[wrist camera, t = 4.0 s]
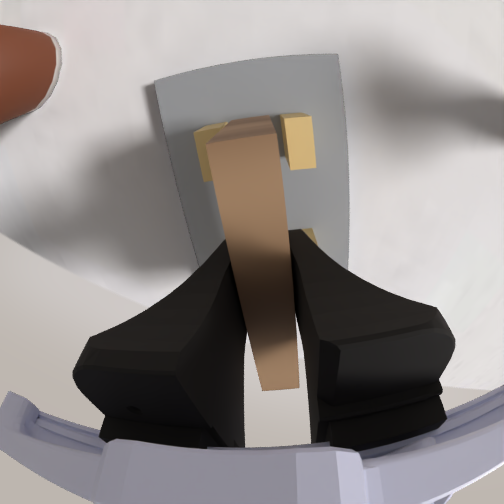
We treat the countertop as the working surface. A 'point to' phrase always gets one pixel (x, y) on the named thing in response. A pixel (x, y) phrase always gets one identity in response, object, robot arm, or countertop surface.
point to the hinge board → (288, 135)
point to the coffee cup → (26, 70)
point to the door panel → (258, 242)
